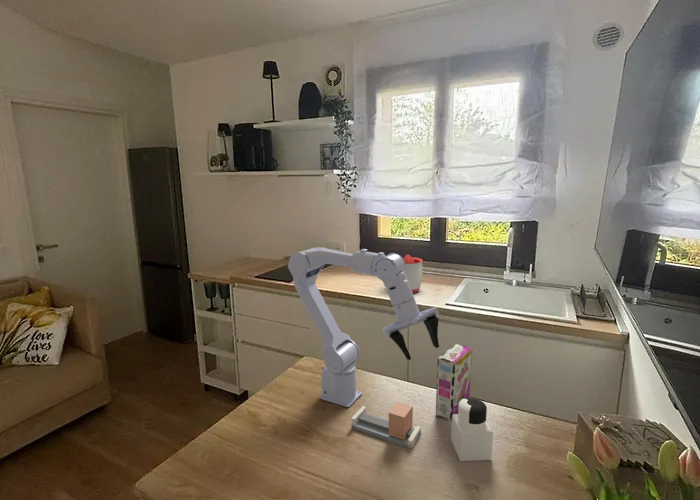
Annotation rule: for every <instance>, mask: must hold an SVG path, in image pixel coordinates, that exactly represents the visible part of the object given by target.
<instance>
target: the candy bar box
mask: <svg viewBox="0 0 700 500" xmlns="http://www.w3.org/2000/svg"><path fill="white" fill-rule="evenodd" d="M472 355H473V348H472V347H469V346H464V345H461V344H457V343H456V344H454V345H453V346H452V347H450V348H449V349H447V351H445V352H444V353H442V354H441V355H439V356H438V357H437V369H436V372H437V373H436V397H435V416H437V417H439V418H442V419H444V420H445V421H446V420H447V421H449V422H452V415H453V414H458V408H459V402H460V401H461V400H462V399H464V398H470V391H471V375H472V374H471V372H472V357H473V356H472Z"/></svg>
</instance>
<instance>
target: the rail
mask: <svg viewBox="0 0 700 500" xmlns="http://www.w3.org/2000/svg"><path fill="white" fill-rule="evenodd" d="M351 429H353V430H356V431H359V432H362V433H364V434H368V435H370V436H373V437H377V438H379V439H381V440H385V441H387V442H391V443H393V444H396V445H398V446H402V447H404V448H408V449H410V450H411V449H413V447H414V446H415V444H416V443H417V442H418V439H419V438H420V436H421V433H422V427H421V426H419V425H416V426H415V427H412V429H409V431H408V432H407V434H406V438H405V440H403V439H400V438H397V437H394V436H391V435H389V419H385V418H383V417H379V416H377V415H373V414H369V413H367V406H365V405H362V406H361V407H360V408H359V409H358V410H357V412H356V413H354V414H353V416H352V417H351Z"/></svg>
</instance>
